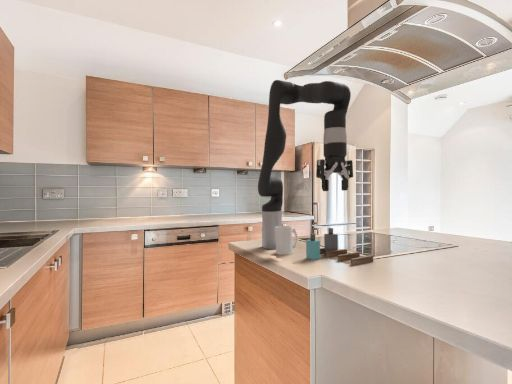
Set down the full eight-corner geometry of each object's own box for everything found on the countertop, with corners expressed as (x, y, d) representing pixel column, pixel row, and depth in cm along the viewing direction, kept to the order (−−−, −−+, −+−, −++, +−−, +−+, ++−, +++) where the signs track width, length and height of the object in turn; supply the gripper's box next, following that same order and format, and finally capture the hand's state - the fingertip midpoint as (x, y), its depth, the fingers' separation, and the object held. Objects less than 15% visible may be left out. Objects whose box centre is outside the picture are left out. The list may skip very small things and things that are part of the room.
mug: (281, 258, 111) (280, 228, 111) (272, 255, 117) (272, 226, 117) (302, 255, 116) (301, 226, 116) (293, 252, 122) (292, 224, 122)
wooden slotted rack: (315, 257, 113) (315, 249, 113) (334, 253, 118) (334, 246, 118) (352, 268, 96) (352, 259, 96) (373, 264, 100) (373, 255, 100)
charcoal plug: (324, 253, 113) (324, 228, 113) (331, 252, 115) (331, 227, 114) (330, 255, 110) (330, 229, 110) (337, 254, 111) (337, 228, 111)
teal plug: (306, 261, 107) (306, 233, 107) (314, 259, 109) (313, 233, 109) (312, 263, 104) (312, 235, 104) (320, 261, 106) (319, 234, 106)
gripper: (342, 145, 102) (342, 190, 102) (311, 143, 95) (311, 191, 95) (358, 142, 95) (359, 190, 95) (326, 139, 88) (326, 191, 89)
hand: (335, 190), depth 95 cm, fingers open, 8 cm apart
